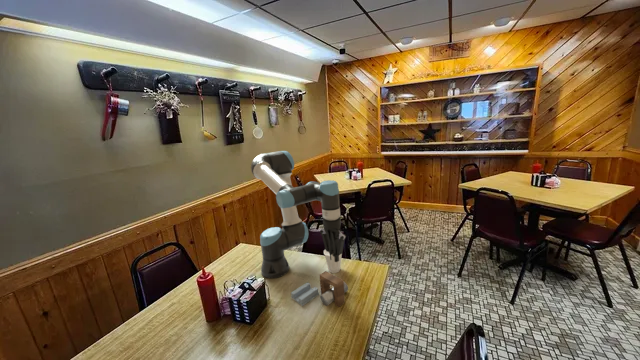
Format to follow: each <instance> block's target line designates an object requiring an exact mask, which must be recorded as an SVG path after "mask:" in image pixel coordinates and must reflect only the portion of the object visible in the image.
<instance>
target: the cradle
mask: <svg viewBox="0 0 640 360" xmlns="http://www.w3.org/2000/svg"><path fill="white" fill-rule="evenodd" d="M318 296H320V292H319V288H318V287H316V286H314V287H311V283H309V282H306V283H304V284H303V285H301V286H299V287H297V288H296V289H295V290H293V291H291V292H290V298H291V299H292V300H293V301H294V302H296V303H298V304H299V305H300V306H302V307H303V306H304V305H306V304H308V303H309V302H310V301H312V300H314V299H315V298H316V297H318Z"/></svg>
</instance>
